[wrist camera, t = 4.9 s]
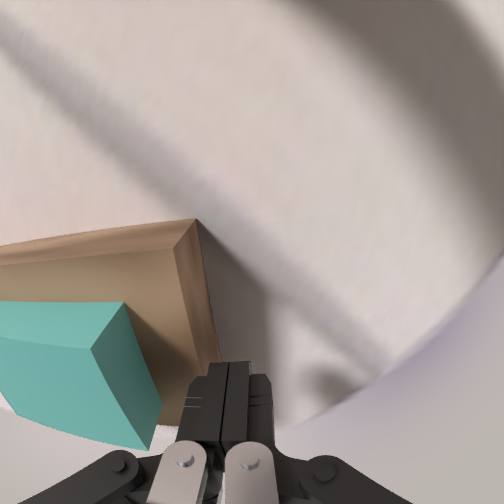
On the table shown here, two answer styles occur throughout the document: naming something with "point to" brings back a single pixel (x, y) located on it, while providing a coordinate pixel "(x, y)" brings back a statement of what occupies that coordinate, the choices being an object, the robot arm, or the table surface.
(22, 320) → the teal rectangular block
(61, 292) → the brown flat block
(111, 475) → the robot arm
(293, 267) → the table surface
